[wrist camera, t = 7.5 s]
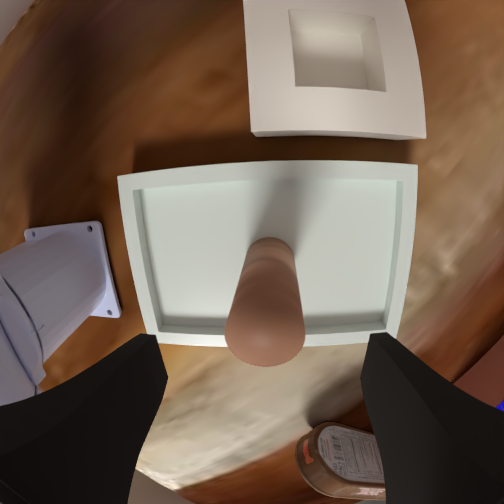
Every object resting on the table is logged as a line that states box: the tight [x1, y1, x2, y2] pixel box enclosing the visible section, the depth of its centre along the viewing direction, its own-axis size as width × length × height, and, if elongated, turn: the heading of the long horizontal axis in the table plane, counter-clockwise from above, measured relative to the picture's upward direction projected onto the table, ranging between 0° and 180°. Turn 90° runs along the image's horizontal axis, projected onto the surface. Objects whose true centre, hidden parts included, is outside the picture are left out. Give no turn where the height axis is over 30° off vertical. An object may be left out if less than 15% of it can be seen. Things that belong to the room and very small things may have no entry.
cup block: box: [243, 0, 426, 140], centre depth 13 cm, size 9×9×4 cm
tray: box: [117, 160, 418, 347], centre depth 18 cm, size 18×12×2 cm, turn 93°
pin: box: [224, 237, 305, 367], centre depth 14 cm, size 3×3×8 cm
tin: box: [295, 422, 386, 500], centre depth 21 cm, size 15×3×8 cm, turn 59°
